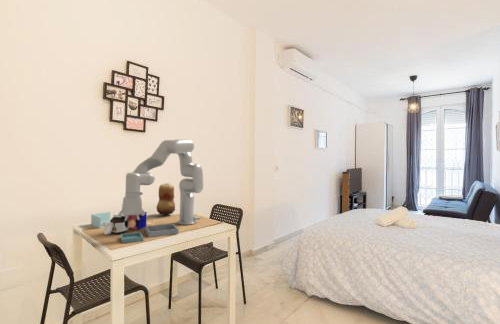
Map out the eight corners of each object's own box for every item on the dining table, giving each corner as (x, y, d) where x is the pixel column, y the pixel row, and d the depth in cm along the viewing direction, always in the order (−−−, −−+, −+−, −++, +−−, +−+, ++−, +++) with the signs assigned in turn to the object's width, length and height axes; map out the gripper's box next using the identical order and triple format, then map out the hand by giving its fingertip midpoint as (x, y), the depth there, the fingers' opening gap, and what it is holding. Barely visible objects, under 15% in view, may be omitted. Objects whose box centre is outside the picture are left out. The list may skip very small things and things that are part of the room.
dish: (140, 235, 163) (140, 232, 163) (143, 240, 154) (143, 237, 154) (120, 237, 158) (120, 234, 158) (122, 243, 149) (122, 239, 149)
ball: (135, 226, 159) (135, 218, 158) (136, 228, 155) (136, 220, 155) (126, 227, 156) (126, 218, 156) (127, 229, 152) (127, 220, 152)
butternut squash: (156, 217, 208) (157, 184, 207) (156, 213, 221) (157, 182, 220) (175, 216, 212) (176, 184, 212) (174, 213, 225) (175, 182, 224)
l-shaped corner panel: (99, 229, 175) (100, 217, 175) (91, 225, 182) (91, 214, 182) (118, 225, 185) (118, 214, 185) (109, 222, 192) (109, 211, 192)
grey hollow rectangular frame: (172, 228, 181) (172, 223, 181) (178, 233, 170) (178, 228, 170) (145, 231, 172) (145, 226, 172) (149, 237, 161) (149, 231, 161)
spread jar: (130, 231, 170) (130, 212, 170) (117, 236, 159) (118, 216, 159) (113, 229, 173) (114, 211, 173) (100, 234, 162) (100, 215, 162)
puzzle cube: (137, 230, 173) (137, 214, 173) (123, 229, 175) (123, 213, 175) (146, 226, 183) (146, 211, 183) (133, 225, 185) (133, 210, 185)
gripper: (147, 193, 163) (146, 224, 163) (115, 194, 154) (114, 226, 154) (149, 195, 156) (148, 227, 156) (116, 196, 148) (115, 230, 148)
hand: (131, 226), depth 155 cm, fingers closed on ball, 4 cm apart
